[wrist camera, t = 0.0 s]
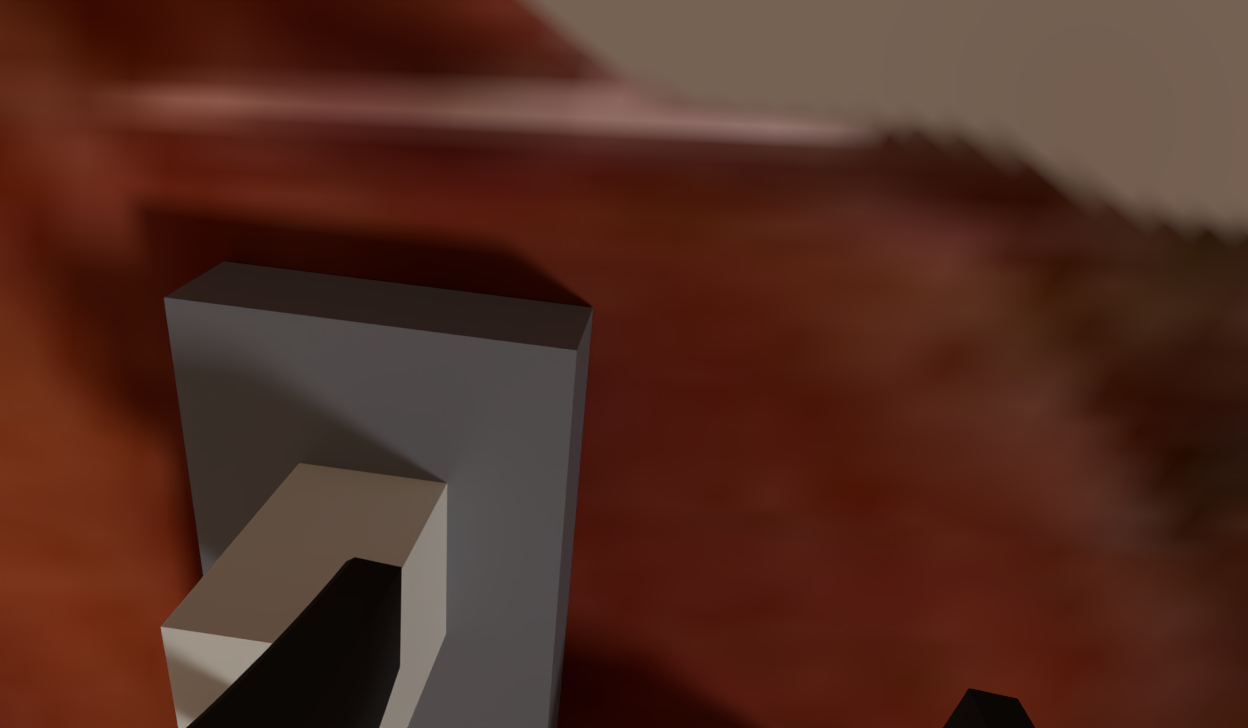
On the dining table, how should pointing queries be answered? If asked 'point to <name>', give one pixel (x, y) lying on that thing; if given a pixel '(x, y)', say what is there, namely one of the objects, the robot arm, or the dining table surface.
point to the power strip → (381, 480)
